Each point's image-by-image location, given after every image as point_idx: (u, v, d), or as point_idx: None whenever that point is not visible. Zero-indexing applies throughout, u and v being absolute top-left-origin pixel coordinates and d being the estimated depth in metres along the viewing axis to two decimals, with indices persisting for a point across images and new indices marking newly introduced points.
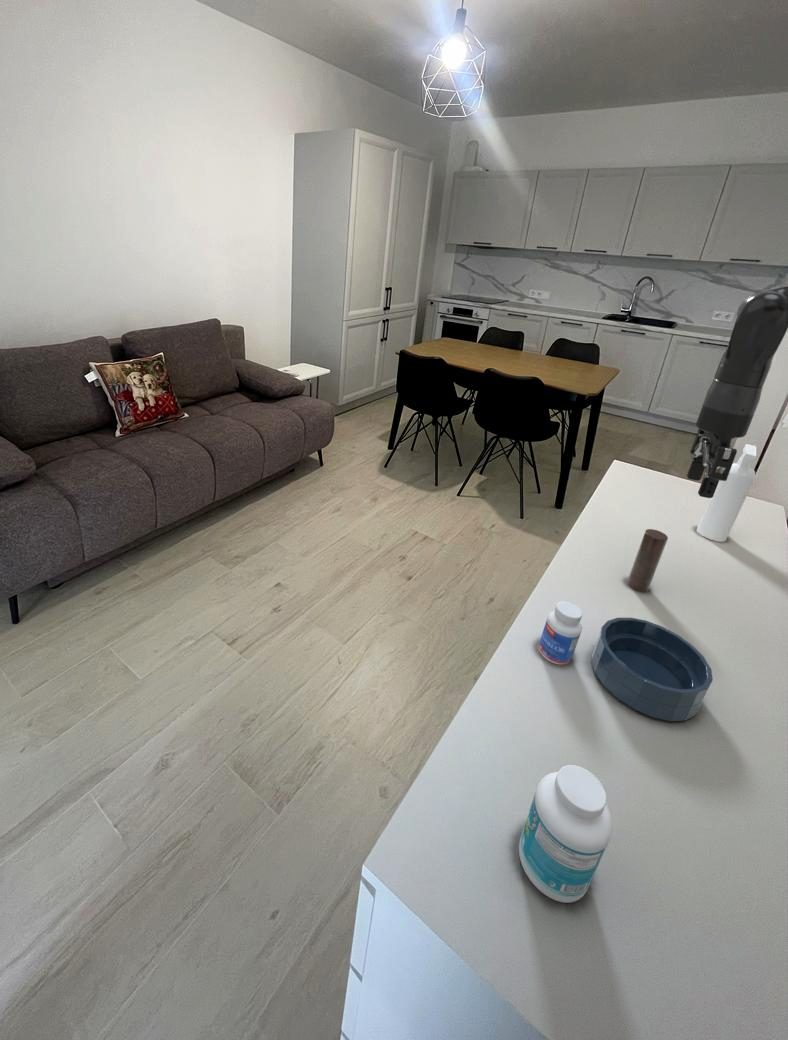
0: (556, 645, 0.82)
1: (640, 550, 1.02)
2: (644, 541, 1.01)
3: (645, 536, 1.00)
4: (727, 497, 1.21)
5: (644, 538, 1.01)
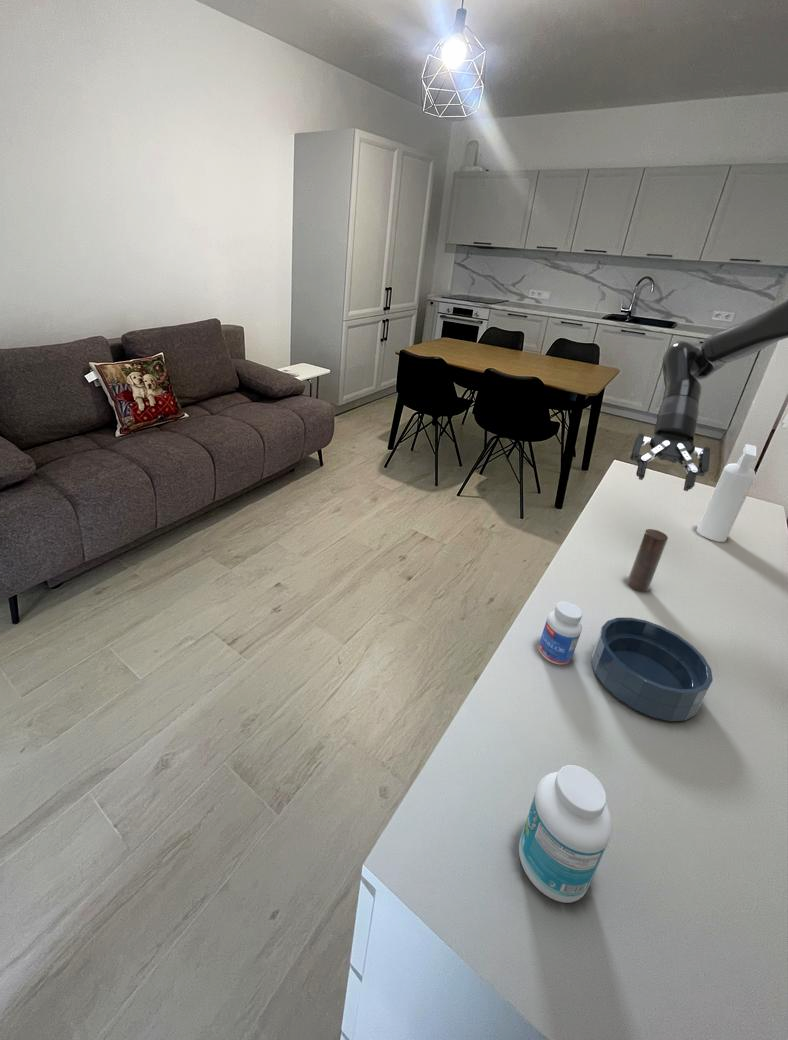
0: (556, 645, 0.82)
1: (640, 550, 1.02)
2: (644, 541, 1.01)
3: (645, 536, 1.00)
4: (727, 497, 1.21)
5: (644, 538, 1.01)
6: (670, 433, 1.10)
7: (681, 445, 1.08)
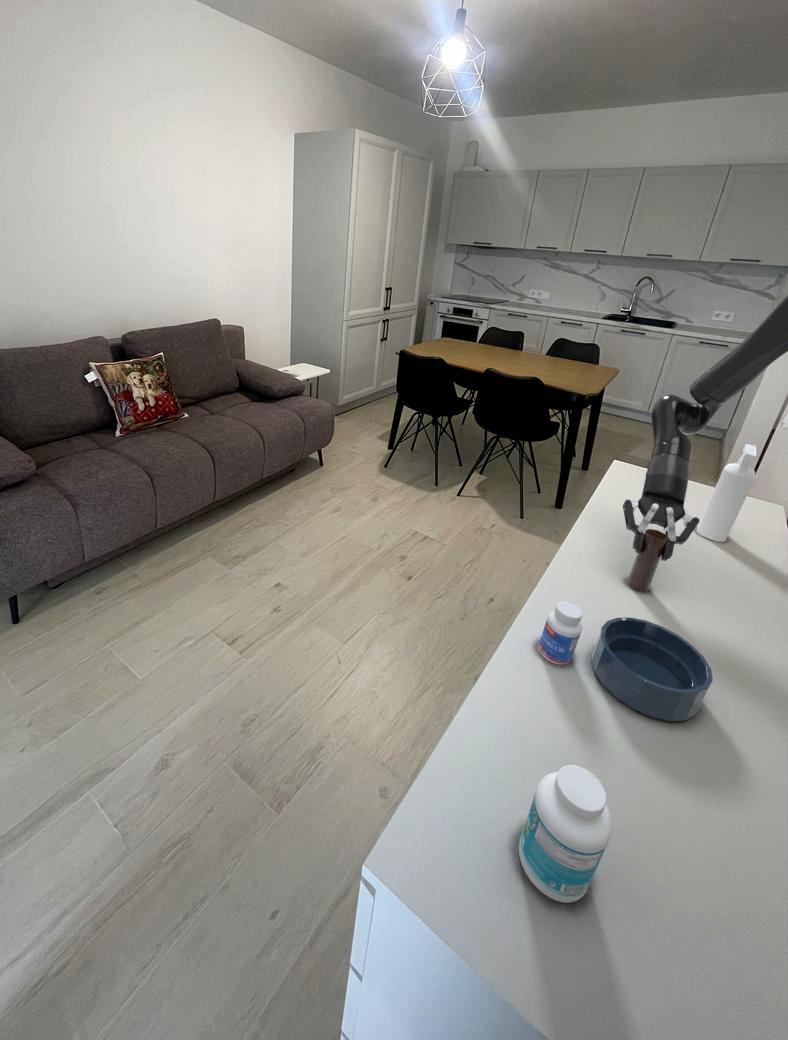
0: (556, 645, 0.82)
1: None
2: (644, 541, 1.01)
3: (645, 536, 1.00)
4: (727, 497, 1.21)
5: (644, 538, 1.01)
6: (659, 496, 1.03)
7: (671, 510, 1.01)
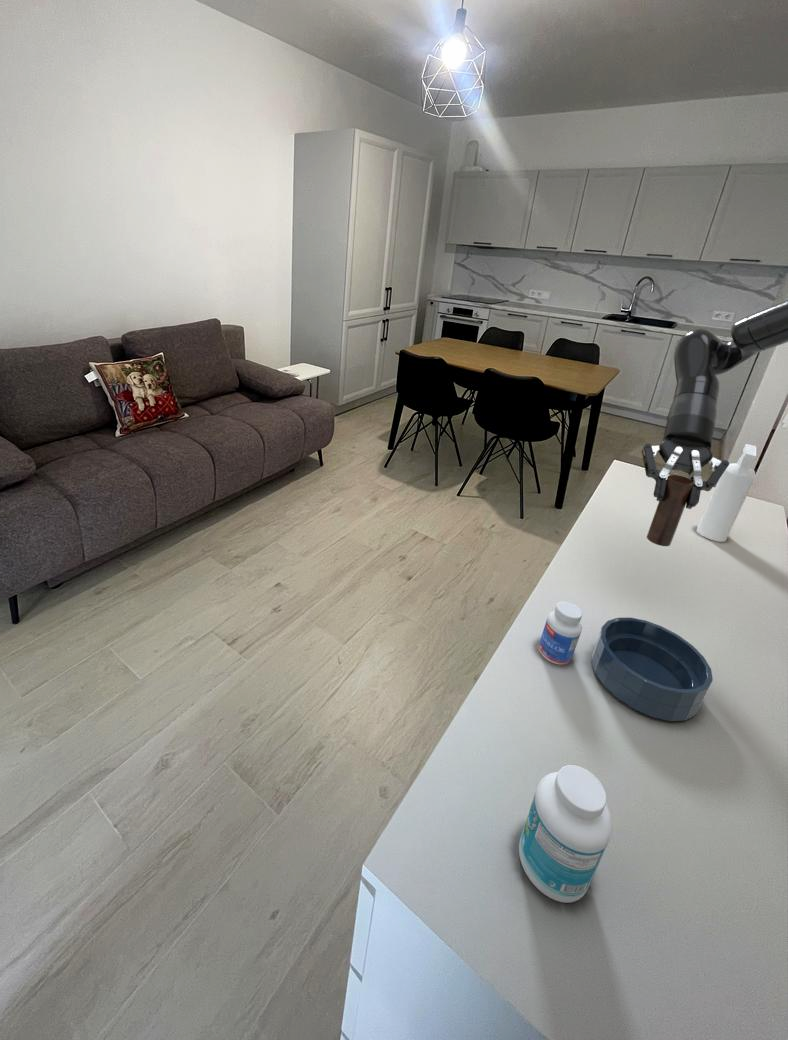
0: (556, 645, 0.82)
1: None
2: (666, 488, 0.90)
3: (668, 482, 0.90)
4: (727, 497, 1.21)
5: (667, 484, 0.90)
6: (683, 438, 0.92)
7: (696, 453, 0.90)
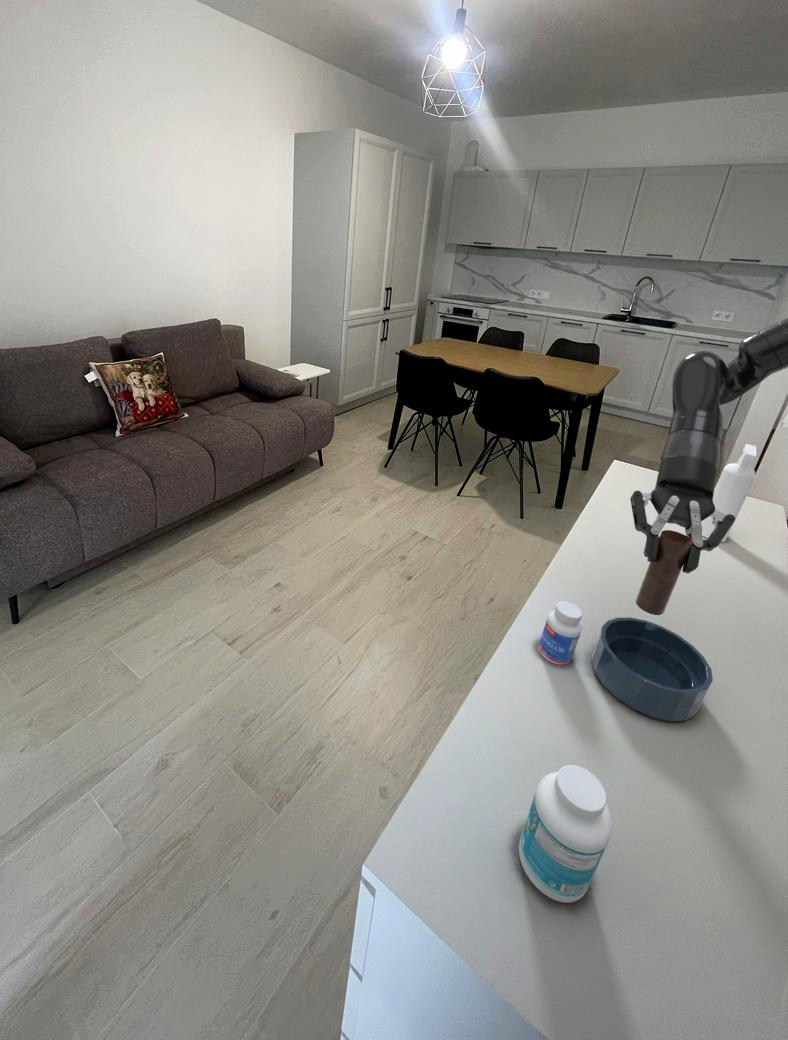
0: (556, 645, 0.82)
1: None
2: (659, 546, 0.75)
3: (661, 540, 0.74)
4: (727, 497, 1.21)
5: (660, 542, 0.75)
6: (679, 485, 0.77)
7: (696, 504, 0.75)
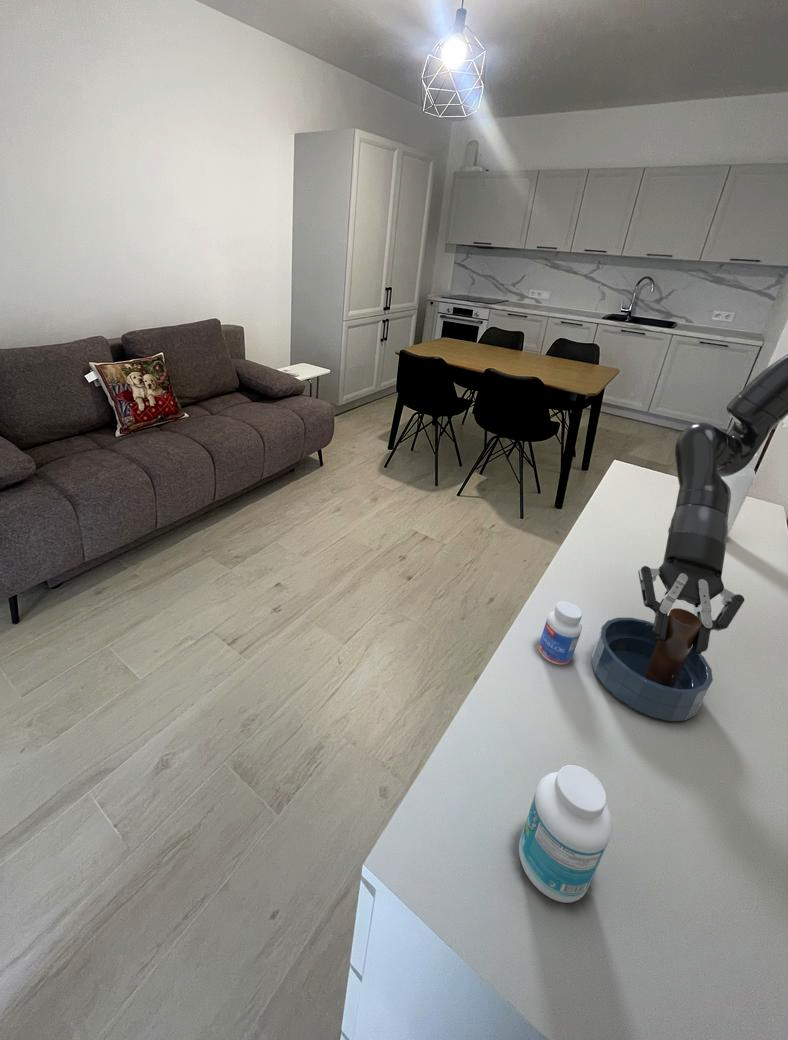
0: (556, 645, 0.82)
1: None
2: (668, 626, 0.74)
3: (670, 619, 0.74)
4: None
5: (669, 622, 0.74)
6: (688, 562, 0.77)
7: (704, 583, 0.75)
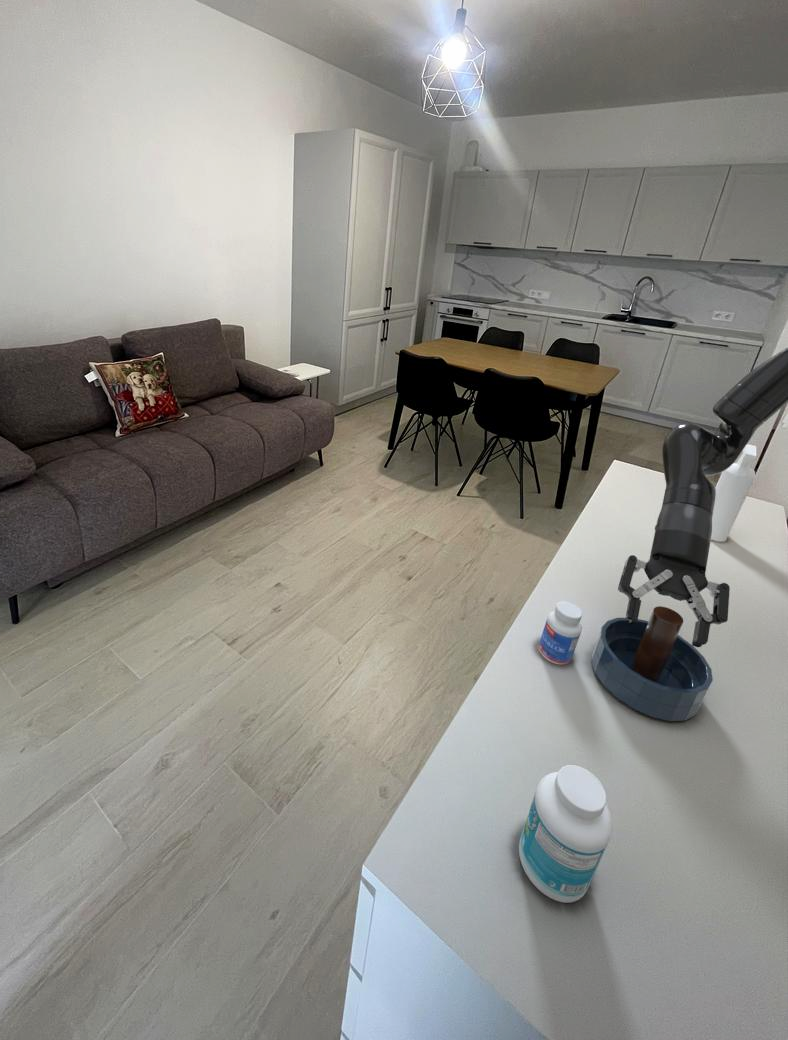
0: (556, 645, 0.82)
1: (647, 634, 0.78)
2: (652, 623, 0.77)
3: (653, 617, 0.76)
4: (727, 497, 1.21)
5: (652, 619, 0.77)
6: (673, 559, 0.79)
7: (688, 579, 0.77)
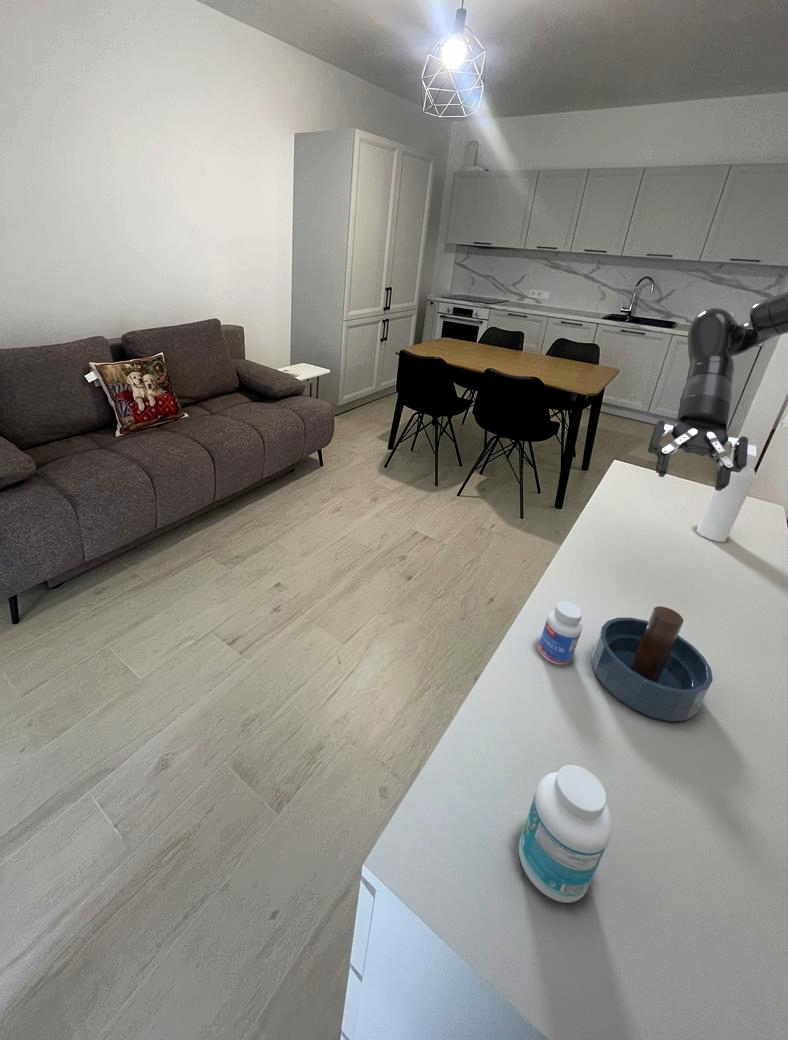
0: (556, 645, 0.82)
1: (647, 634, 0.78)
2: (652, 623, 0.77)
3: (653, 617, 0.76)
4: (727, 497, 1.21)
5: (652, 619, 0.77)
6: (697, 420, 0.89)
7: (712, 434, 0.87)
